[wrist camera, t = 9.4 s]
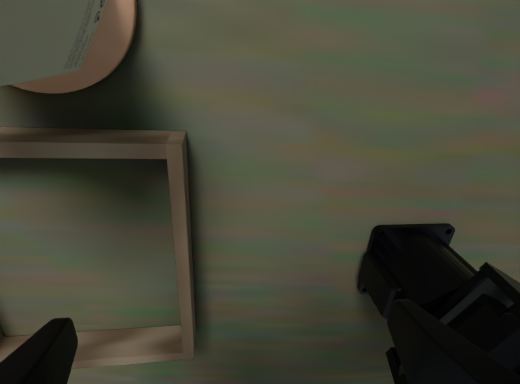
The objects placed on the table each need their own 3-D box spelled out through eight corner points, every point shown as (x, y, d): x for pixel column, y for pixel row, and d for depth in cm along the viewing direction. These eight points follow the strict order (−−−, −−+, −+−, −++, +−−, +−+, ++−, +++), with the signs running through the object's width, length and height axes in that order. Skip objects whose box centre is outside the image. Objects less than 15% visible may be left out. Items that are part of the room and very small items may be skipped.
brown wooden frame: (185, 130, 18) (181, 144, 16) (196, 330, 26) (194, 358, 23) (-113, 124, 16) (-166, 139, 14) (-4, 344, 23) (-27, 376, 21)
